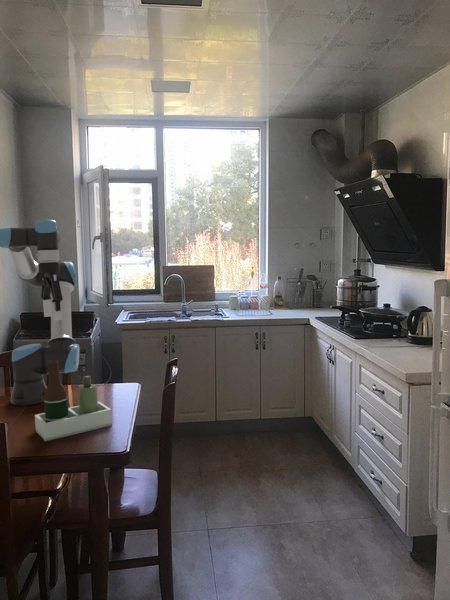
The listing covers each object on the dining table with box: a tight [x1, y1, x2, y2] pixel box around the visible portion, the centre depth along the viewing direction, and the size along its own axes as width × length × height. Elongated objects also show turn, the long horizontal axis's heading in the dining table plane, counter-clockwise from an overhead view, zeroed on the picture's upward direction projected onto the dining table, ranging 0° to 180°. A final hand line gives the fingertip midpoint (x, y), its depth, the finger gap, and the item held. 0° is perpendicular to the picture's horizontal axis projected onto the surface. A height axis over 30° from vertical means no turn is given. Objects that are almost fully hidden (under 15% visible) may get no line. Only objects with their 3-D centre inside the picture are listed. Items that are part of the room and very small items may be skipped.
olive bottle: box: [77, 375, 99, 415], centre depth 175 cm, size 6×6×17 cm
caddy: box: [34, 401, 113, 442], centre depth 172 cm, size 12×23×6 cm, turn 125°
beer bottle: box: [43, 360, 69, 423], centre depth 168 cm, size 8×8×24 cm
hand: (52, 318), depth 186 cm, fingers open, 13 cm apart
